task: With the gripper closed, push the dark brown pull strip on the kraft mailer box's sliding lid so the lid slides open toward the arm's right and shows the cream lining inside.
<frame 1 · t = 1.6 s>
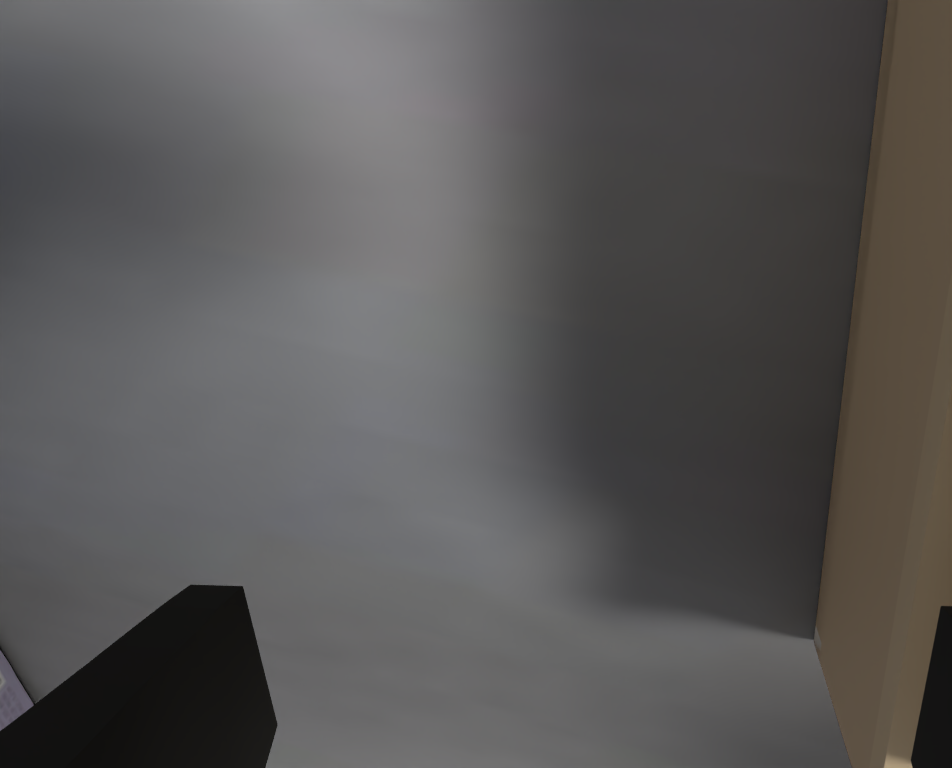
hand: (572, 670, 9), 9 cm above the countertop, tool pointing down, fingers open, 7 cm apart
cake pan box: (18, 756, 26), on the countertop
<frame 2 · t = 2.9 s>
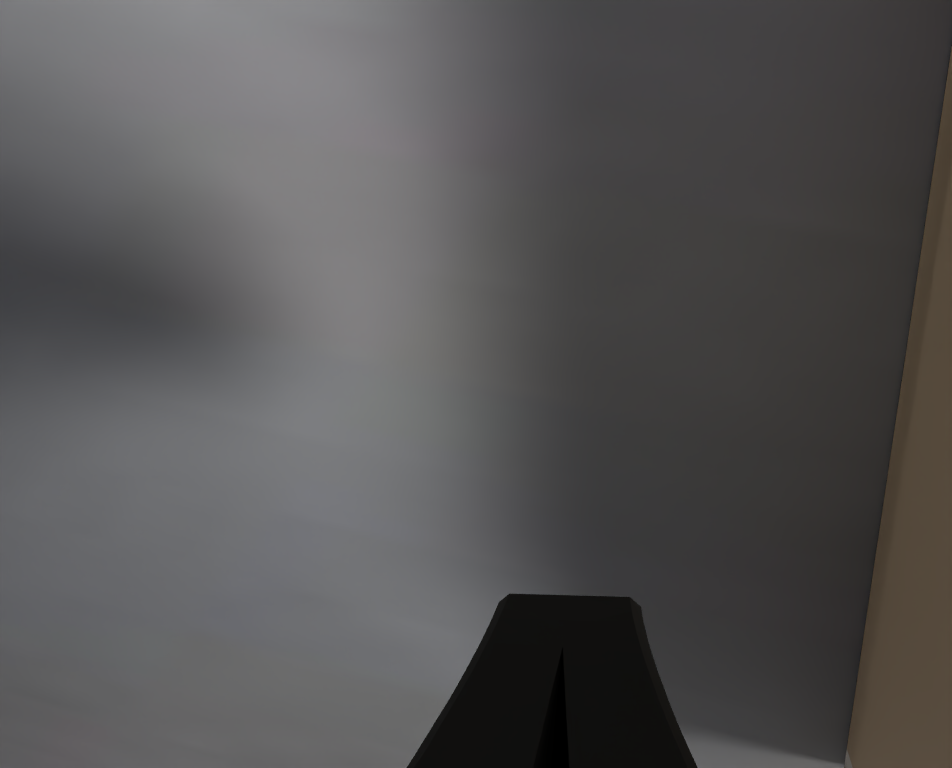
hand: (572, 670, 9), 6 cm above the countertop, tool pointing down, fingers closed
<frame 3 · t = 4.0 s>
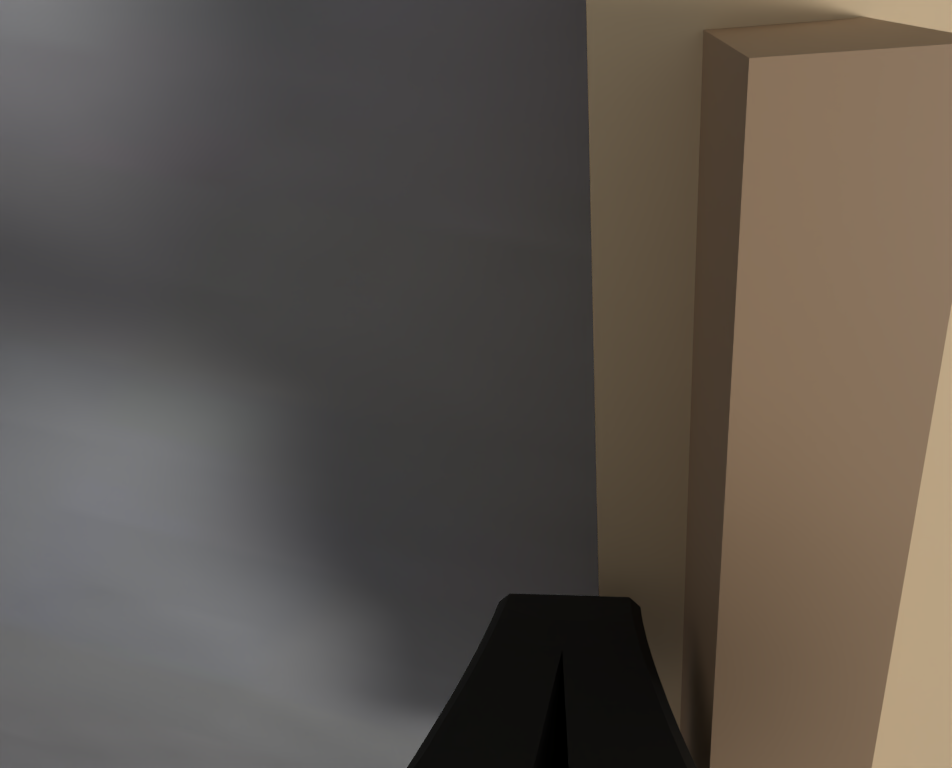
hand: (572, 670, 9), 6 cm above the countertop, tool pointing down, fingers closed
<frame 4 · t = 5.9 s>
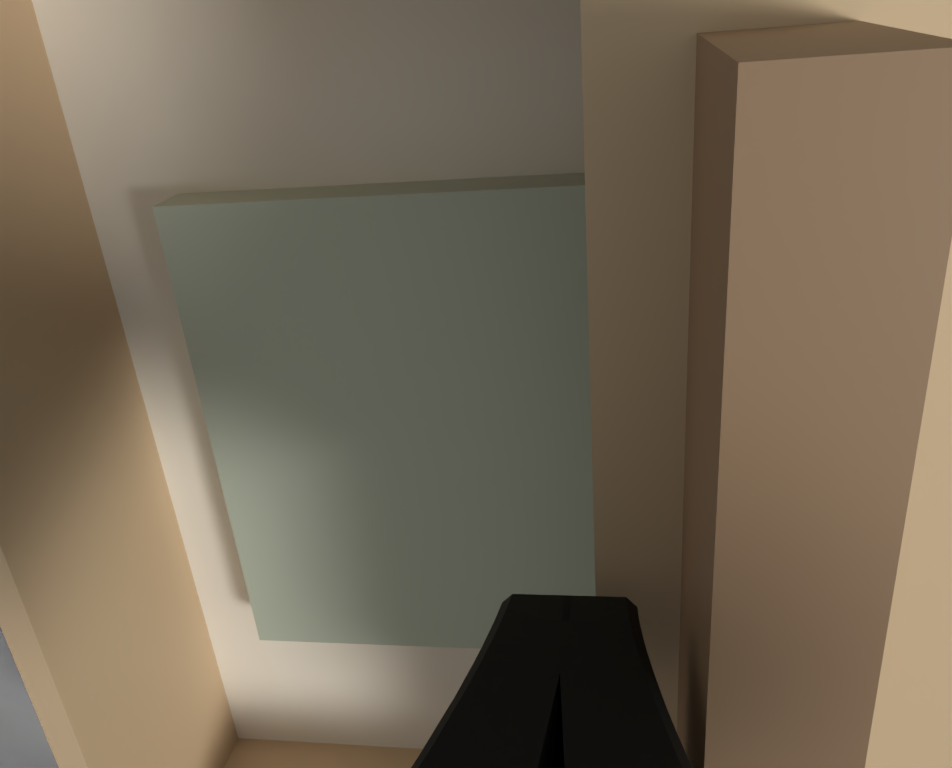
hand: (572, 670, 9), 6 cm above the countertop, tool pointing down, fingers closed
mailer base: (648, 407, 14), on the countertop
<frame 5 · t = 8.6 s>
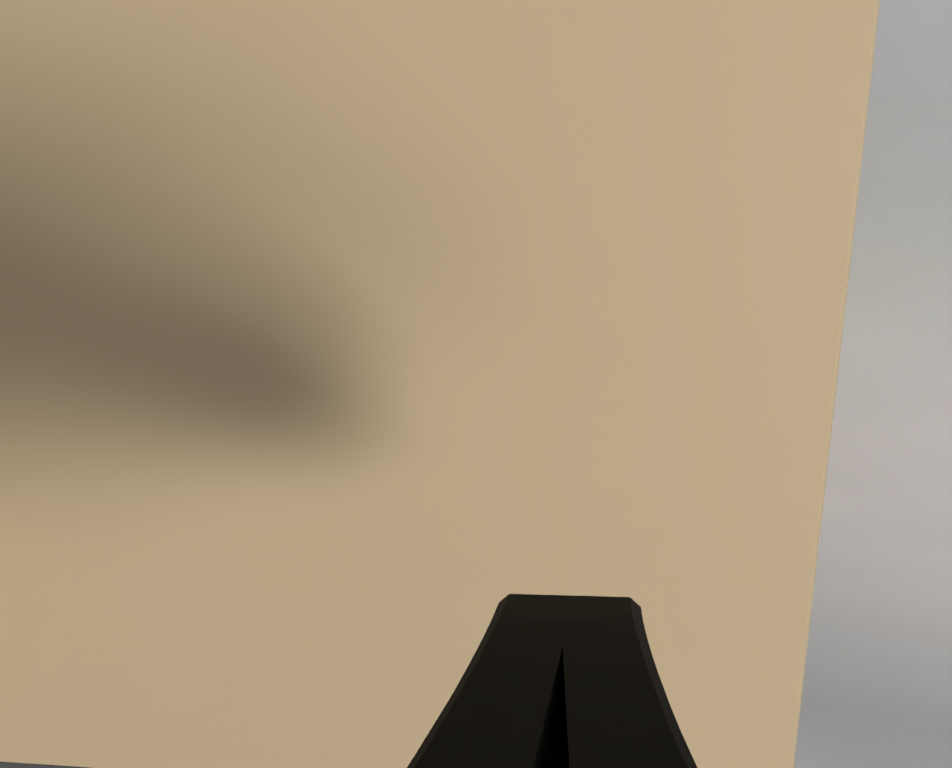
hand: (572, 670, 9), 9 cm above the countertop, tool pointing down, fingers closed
mailer lid: (184, 433, 12), point 6 cm above the countertop, slide at 8.3 cm
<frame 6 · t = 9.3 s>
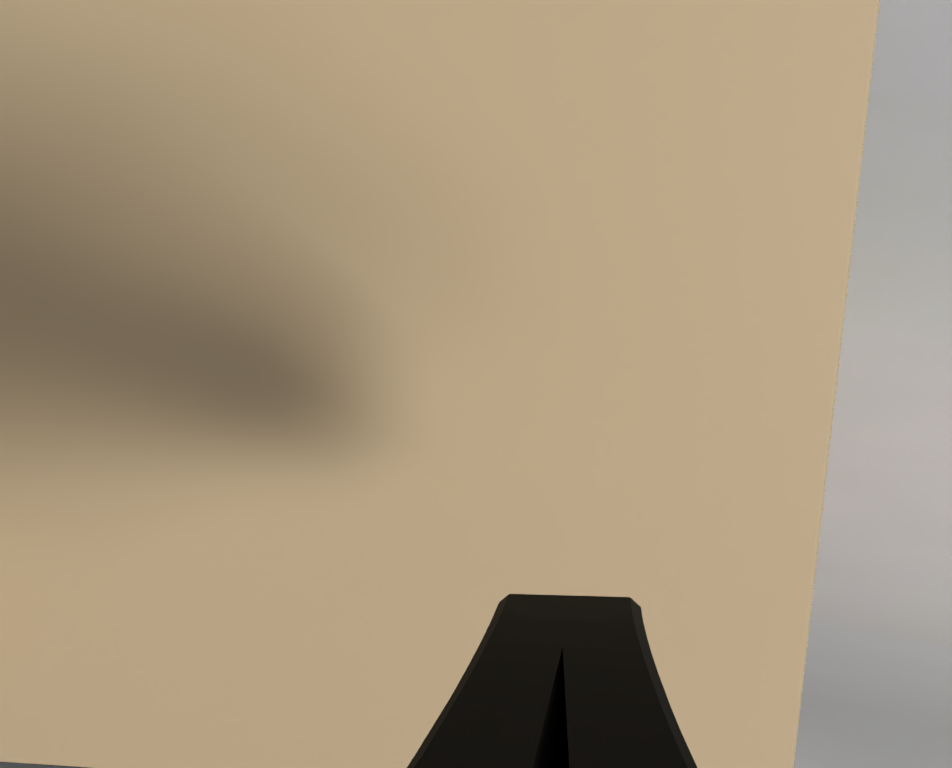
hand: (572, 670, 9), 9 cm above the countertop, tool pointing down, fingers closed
mailer lid: (184, 433, 12), point 6 cm above the countertop, slide at 8.3 cm
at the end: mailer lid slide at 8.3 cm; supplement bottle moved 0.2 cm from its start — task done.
